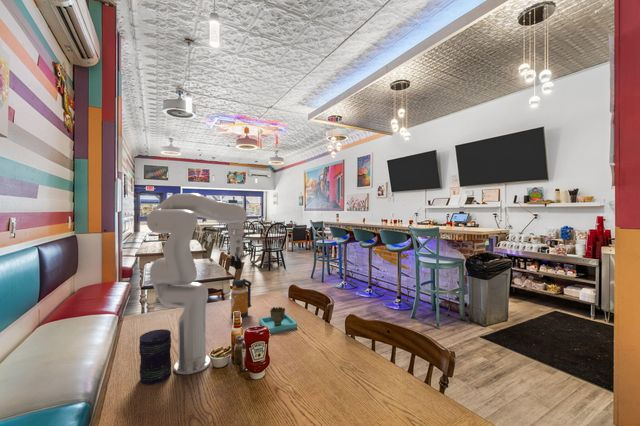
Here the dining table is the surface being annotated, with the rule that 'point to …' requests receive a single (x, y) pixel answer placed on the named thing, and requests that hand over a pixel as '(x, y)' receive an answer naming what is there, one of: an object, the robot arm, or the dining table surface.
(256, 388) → the dining table surface
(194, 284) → the robot arm
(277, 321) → the cup
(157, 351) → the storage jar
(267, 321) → the dish
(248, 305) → the canister
